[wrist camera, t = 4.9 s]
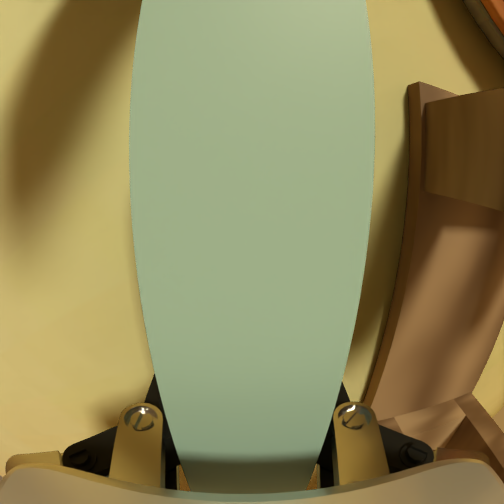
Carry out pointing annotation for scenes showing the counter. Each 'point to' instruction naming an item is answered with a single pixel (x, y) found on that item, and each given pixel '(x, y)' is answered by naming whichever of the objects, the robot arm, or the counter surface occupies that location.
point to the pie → (489, 20)
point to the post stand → (447, 276)
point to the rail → (251, 225)
